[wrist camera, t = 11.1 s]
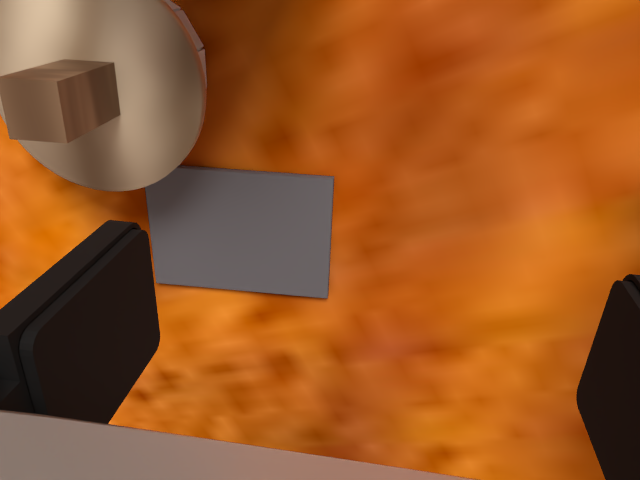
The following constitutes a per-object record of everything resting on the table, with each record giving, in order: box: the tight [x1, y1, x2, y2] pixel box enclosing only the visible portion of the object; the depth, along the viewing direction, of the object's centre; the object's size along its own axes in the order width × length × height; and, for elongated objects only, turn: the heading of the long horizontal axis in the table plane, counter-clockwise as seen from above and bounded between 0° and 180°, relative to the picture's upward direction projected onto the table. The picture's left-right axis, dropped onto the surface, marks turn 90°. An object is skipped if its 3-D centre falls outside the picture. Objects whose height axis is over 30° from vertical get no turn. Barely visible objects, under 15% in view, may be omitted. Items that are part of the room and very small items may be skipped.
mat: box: [145, 165, 334, 298], centre depth 41 cm, size 14×10×1 cm
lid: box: [0, 0, 206, 191], centre depth 29 cm, size 13×13×7 cm
